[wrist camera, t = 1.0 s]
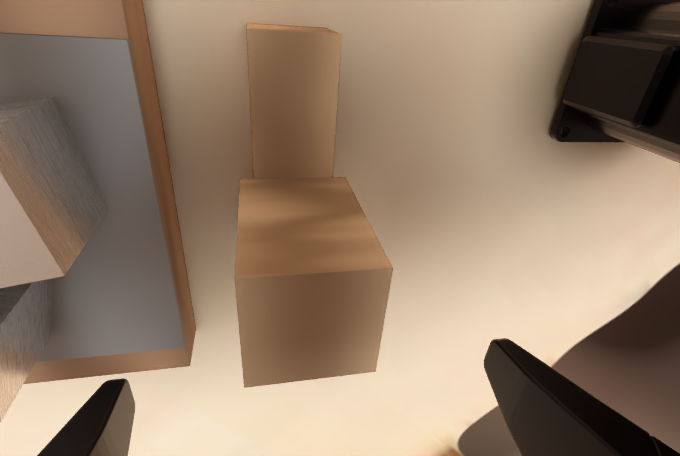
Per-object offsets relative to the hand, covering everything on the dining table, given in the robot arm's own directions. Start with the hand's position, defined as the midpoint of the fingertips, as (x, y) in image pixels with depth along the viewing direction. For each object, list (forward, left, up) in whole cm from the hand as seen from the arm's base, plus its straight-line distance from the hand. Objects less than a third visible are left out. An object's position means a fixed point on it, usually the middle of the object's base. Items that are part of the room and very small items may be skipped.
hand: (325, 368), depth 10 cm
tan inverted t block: (0, 0, -10) cm, 10 cm away
